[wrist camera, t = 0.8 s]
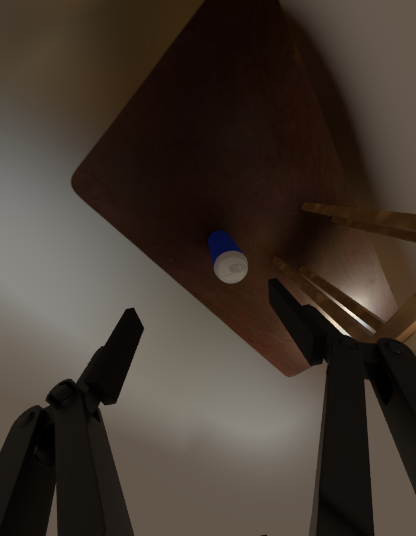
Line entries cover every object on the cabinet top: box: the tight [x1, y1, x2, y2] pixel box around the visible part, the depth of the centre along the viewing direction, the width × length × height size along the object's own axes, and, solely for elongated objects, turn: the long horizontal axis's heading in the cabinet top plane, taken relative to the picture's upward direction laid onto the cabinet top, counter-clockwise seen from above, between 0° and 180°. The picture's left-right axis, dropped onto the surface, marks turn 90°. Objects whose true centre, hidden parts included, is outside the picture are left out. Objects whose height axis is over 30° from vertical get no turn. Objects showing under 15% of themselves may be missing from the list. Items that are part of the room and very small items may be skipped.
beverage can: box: [208, 230, 248, 283], centre depth 31 cm, size 5×5×15 cm
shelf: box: [272, 202, 416, 343], centre depth 27 cm, size 15×10×26 cm, turn 160°
